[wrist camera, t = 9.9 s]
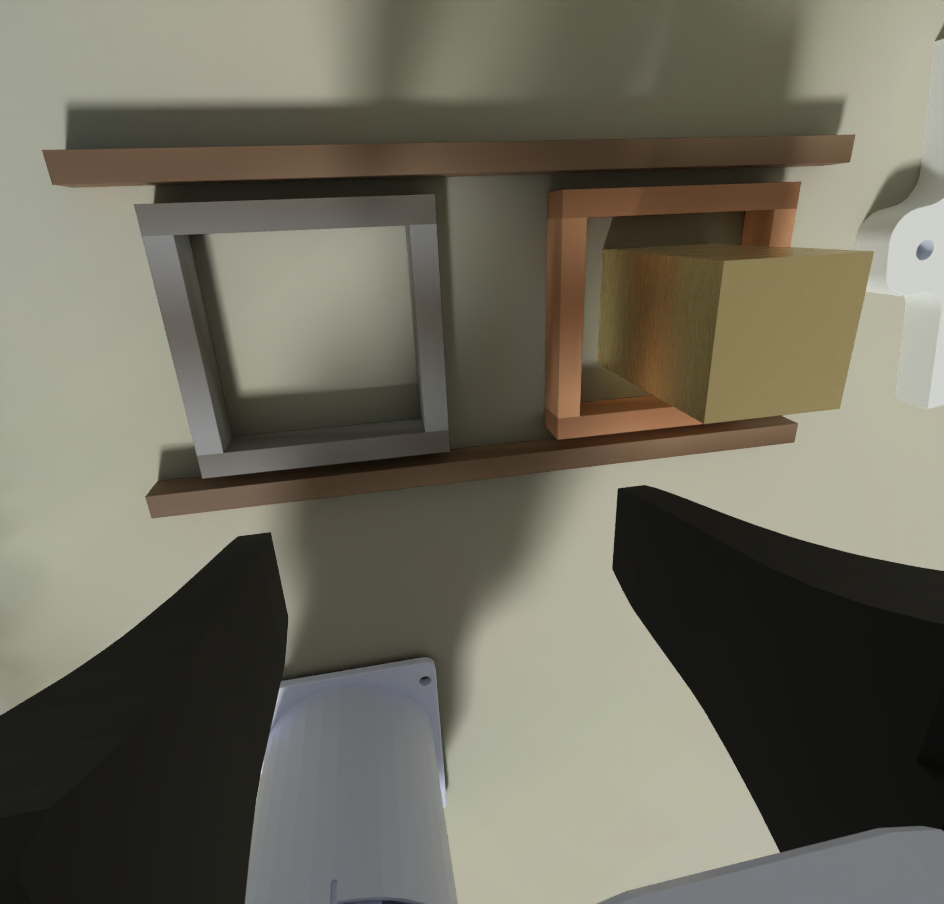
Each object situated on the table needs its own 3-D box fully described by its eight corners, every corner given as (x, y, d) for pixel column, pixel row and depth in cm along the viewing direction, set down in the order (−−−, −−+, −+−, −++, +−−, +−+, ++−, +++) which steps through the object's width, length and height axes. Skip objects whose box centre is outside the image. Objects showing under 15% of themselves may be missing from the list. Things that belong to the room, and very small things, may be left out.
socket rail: (773, 432, 23) (799, 444, 22) (163, 502, 19) (148, 522, 18) (827, 139, 19) (863, 133, 18) (64, 155, 15) (36, 148, 14)
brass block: (695, 354, 21) (839, 408, 15) (597, 363, 21) (703, 424, 14) (708, 243, 20) (874, 251, 13) (602, 249, 19) (724, 260, 13)
